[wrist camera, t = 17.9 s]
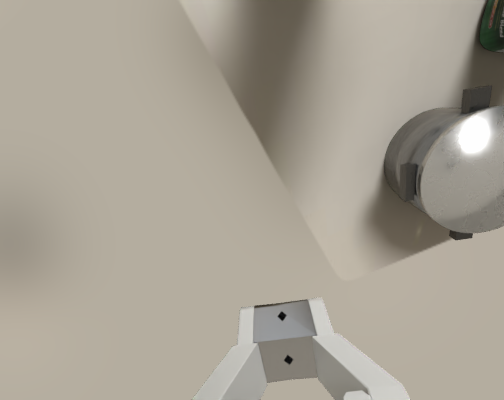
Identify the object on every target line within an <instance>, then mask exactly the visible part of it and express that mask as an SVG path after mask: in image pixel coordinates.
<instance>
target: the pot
mask: <svg viewBox="0 0 504 400" xmlns="http://www.w3.org/2000/svg"><path fill="white" fill-rule="evenodd" d="M491 89H492V86H481V87H475V88H470V89H465V90H463V98H462V108H436V109H432V110H428V111H425V112H423V113H421V114H419V115H417V116H415V117H414V118H412V119H410V120H409V121H408V122H407V123H405V124H404V125H403V126H402V127H401V128H400V129H399V130H398V132H397V133H396V134H395V135H394V137H393V139H392V140H391V142H390V144H389V146H388V149H387V152H386V155H385V161H384V170H385V176H386V179H387V181H388V183H389V185H390V187H391V188H392V189H393V191H394V192H396V193H397V194H398V195H399V196H400V198H401V199H403V200H404V201H405V202H406V201H408V202H410V203H411V204H413V205H414V206H416V207H417V208H418V209H420V210H421V211H423V212H424V213H426V212H425V211H424V209H423V207H422V205H421V203H420V200H419V196H418V189H417V182H418V175H419V171H420V167H421V164H422V162H423V159H424V157H425V156H426V154H427V152H428V150H429V149H430V147H431V146H432V144H433V143H434V142H435V141H436V139H437V138H438V137H439V136H440V135H441V134H442V133H443V132H444V131H445V130H446V129H447V128H448V127H450V126H451V125H452V124H453V123H455V122H456V121H458V120H459V119H461V118H463V117H464V116H466V115H468V114H470V113H472V112H475V111H478V110H481V109H484V108H488V107H489V104H490V97H491ZM426 214H427V213H426ZM427 215H428V214H427ZM472 235H473V233H461V232H456V231H452V230H450V235H449V236H450V237H452V238H453V239H455V240H461V239H468V238H472Z"/></svg>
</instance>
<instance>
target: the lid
mask: <svg viewBox="0 0 504 400" xmlns="http://www.w3.org/2000/svg"><path fill="white" fill-rule="evenodd" d="M417 189H418V196H419V200H420V203H421V205H422V207H423V209H424V211H425V212H426V213H427V214H428V216H429V217H431V218H432V219H433V220H434V221H435V222H437V223H438V224H440V225H442V226H443V227H445V228H447V229H449V230H452V231H456V232H461V233H481V232H486V231H490V230H494V229H497V228H500V227H502V226H504V105H500V106H492V107H488V108H484V109H481V110H478V111H475V112H472V113H470V114H468V115H466V116H464V117H463V118H461V119H459V120H458V121H456V122H455V123H453V124H452V125H451V126H450V127H448V128H447V129H446V130H445V131H444V132H443V133H442V134H441V135H440V136H439V137H438V138H437V139H436V141H435V142H434V143H433V144H432V146H431V147H430V149H429V150H428V152H427V154H426V156H425V157H424V159H423V162H422V164H421V167H420V171H419V175H418V182H417Z"/></svg>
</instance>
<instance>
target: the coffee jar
mask: <svg viewBox="0 0 504 400" xmlns="http://www.w3.org/2000/svg"><path fill="white" fill-rule="evenodd" d="M480 42H481V44H482V45H483V47H484V48H486V49H487V50H490V51H495V52H504V0H488V2H487V5H486V8H485V12H484V15H483V19H482V24H481V29H480Z"/></svg>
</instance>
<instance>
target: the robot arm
mask: <svg viewBox="0 0 504 400" xmlns="http://www.w3.org/2000/svg"><path fill="white" fill-rule="evenodd" d="M317 377H318V380H319V381H320V382H321V383H322V384H323V386H324V387H325V388H326V389H327V391H328V392H329V393H330V394H331V396H332V397H333V398H334V399H335V400H410V398H409V396H408V394H407V392H406V390H405V388H404V386H403V385H402V384H401V383H400V382H398V381H397V380H396V379H395V378H393V377H392V376H391V375H390V374H389V373H387V372H386V371H385V370H384V369H382V368H381V367H380V366H378V365H377V364H376V363H375V362H374V361H372V360H371V359H370V358H369V357H367V356H366V355H365V354H364V353H362V352H361V351H360V350H359V349H358V348H356V347H355V346H354V345H353V344H351V343H350V342H349V341H347V340H346V339H345V338H344V337H343V336H341V335H340V334H339V333H337V334H334V332H333V328H332V326H331V322H330V319H329V317H328V314H327V311H326V307H325V304H324V301H323V299H322V298H321V297H318V298H312V299H308V300H307V299H306V300H299V301H291V302H284V303H276V304H267V305H257V306H252V307H241V309H240V313H239V326H238V338H237V345H236V346H232V348H231V349H230V350H229V351H228V353H227V354H226V355H225V357H224V358H223V359H222V361H221V362H220V363H219V364H218V366H217V367H216V368H215V370H214V371H213V373H212V374H211V375H210V376H209V378H208V379H207V380H206V382H205V383H204V384H203V385H202V387H201V388H200V389H199V391H198V392H197V393H196V395H195V396H194V397H193V399H192V400H260V399H261V397H262V395H263V393H264V391H265V388H266V387H267V383H269V382H277V381H283V380H290V379H304V378H317Z"/></svg>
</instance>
